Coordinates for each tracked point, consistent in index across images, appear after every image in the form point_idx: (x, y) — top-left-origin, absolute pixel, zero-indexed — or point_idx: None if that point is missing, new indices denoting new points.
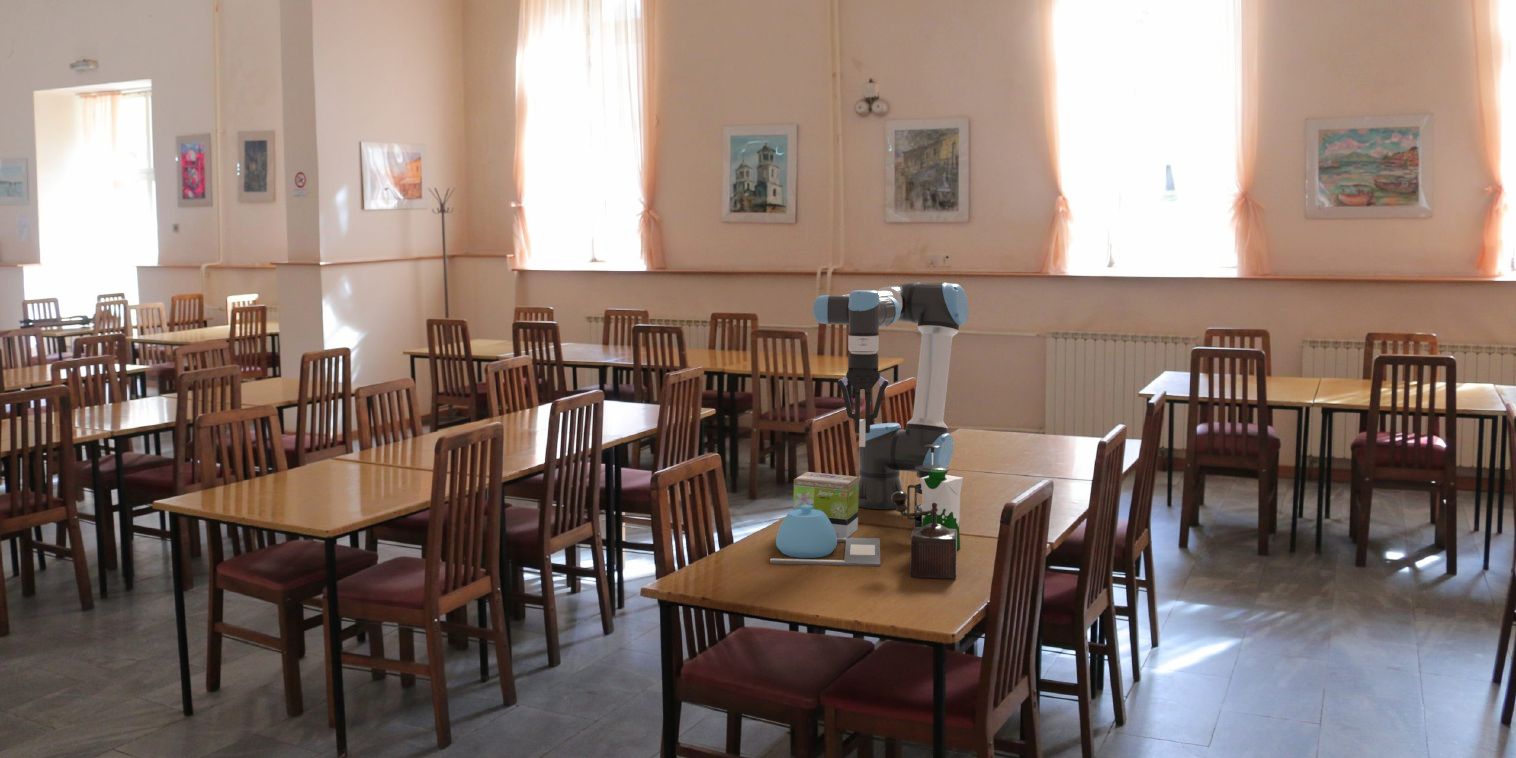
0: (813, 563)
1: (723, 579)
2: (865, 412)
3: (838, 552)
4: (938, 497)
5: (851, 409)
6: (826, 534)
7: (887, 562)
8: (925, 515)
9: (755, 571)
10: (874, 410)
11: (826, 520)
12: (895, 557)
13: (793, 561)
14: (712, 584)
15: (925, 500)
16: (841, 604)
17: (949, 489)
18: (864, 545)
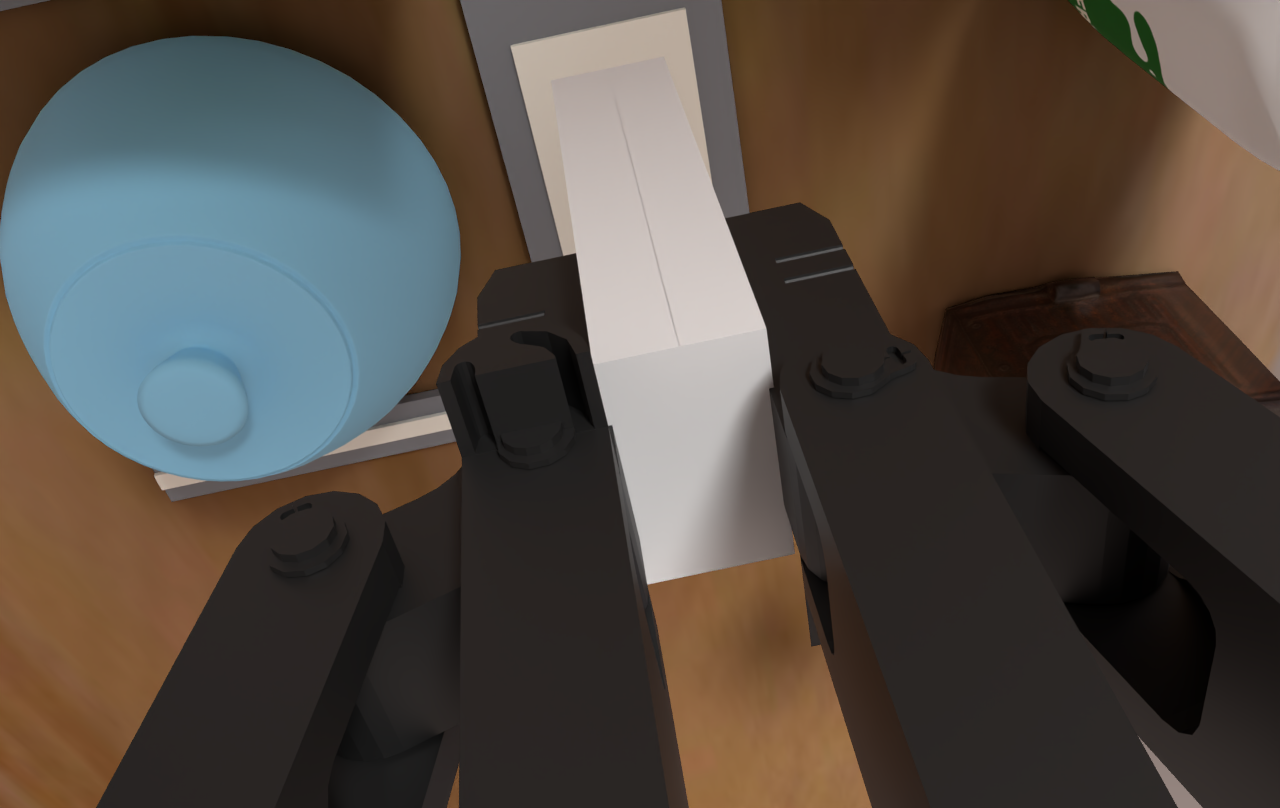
0: (408, 447)
1: (108, 728)
2: (848, 723)
3: (467, 187)
4: None
5: (349, 709)
6: (419, 375)
7: None
8: (1155, 77)
9: (178, 611)
10: (1145, 723)
11: (386, 358)
12: (841, 187)
13: (296, 468)
14: (106, 781)
15: (1221, 129)
16: None
17: None
18: (614, 45)
